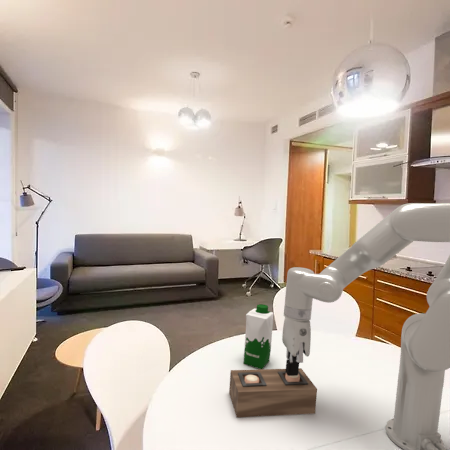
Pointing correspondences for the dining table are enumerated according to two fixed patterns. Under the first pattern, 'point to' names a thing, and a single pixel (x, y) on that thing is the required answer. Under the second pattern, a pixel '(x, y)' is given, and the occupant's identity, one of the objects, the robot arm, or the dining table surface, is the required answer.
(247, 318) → the milk carton
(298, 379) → the peg
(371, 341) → the dining table surface
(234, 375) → the walnut block
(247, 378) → the peg
